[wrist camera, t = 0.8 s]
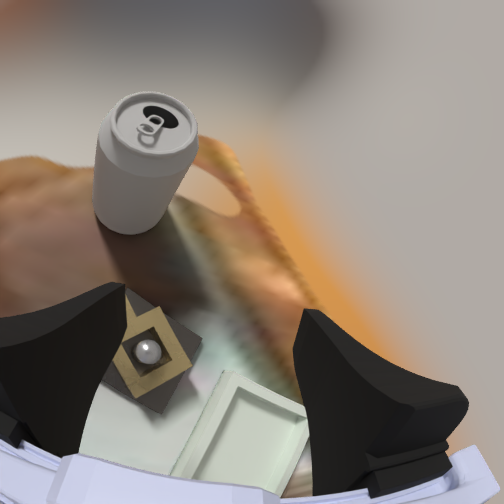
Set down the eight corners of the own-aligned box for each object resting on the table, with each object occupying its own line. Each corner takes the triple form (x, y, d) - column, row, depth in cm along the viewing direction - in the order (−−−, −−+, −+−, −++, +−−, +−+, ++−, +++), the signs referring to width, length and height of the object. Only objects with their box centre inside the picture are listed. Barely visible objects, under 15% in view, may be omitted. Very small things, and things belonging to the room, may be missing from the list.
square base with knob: (159, 412, 21) (172, 423, 18) (80, 363, 19) (75, 365, 16) (199, 338, 26) (218, 335, 22) (126, 289, 24) (132, 276, 20)
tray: (251, 522, 20) (262, 530, 18) (156, 498, 17) (162, 508, 16) (305, 410, 28) (318, 412, 26) (223, 370, 26) (233, 371, 24)
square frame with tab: (184, 365, 23) (192, 365, 21) (132, 394, 20) (135, 398, 18) (140, 283, 24) (144, 276, 22) (86, 308, 21) (85, 303, 19)
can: (175, 194, 29) (223, 116, 20) (142, 252, 26) (178, 183, 16) (117, 160, 27) (142, 71, 17) (77, 214, 23) (77, 126, 14)
